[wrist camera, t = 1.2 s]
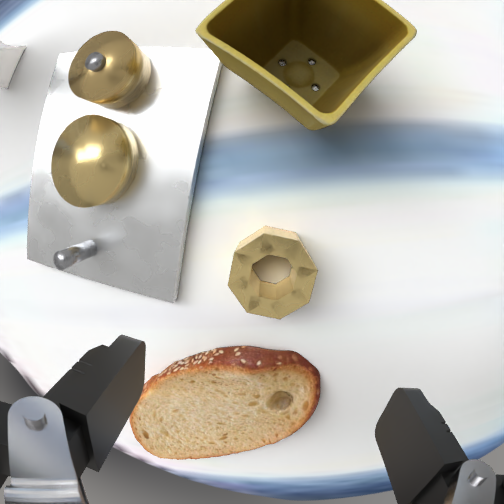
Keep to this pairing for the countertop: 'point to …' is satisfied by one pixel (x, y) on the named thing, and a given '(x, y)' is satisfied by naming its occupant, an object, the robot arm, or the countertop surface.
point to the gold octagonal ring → (264, 293)
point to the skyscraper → (8, 62)
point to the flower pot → (307, 50)
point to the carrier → (120, 162)
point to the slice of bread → (225, 402)
